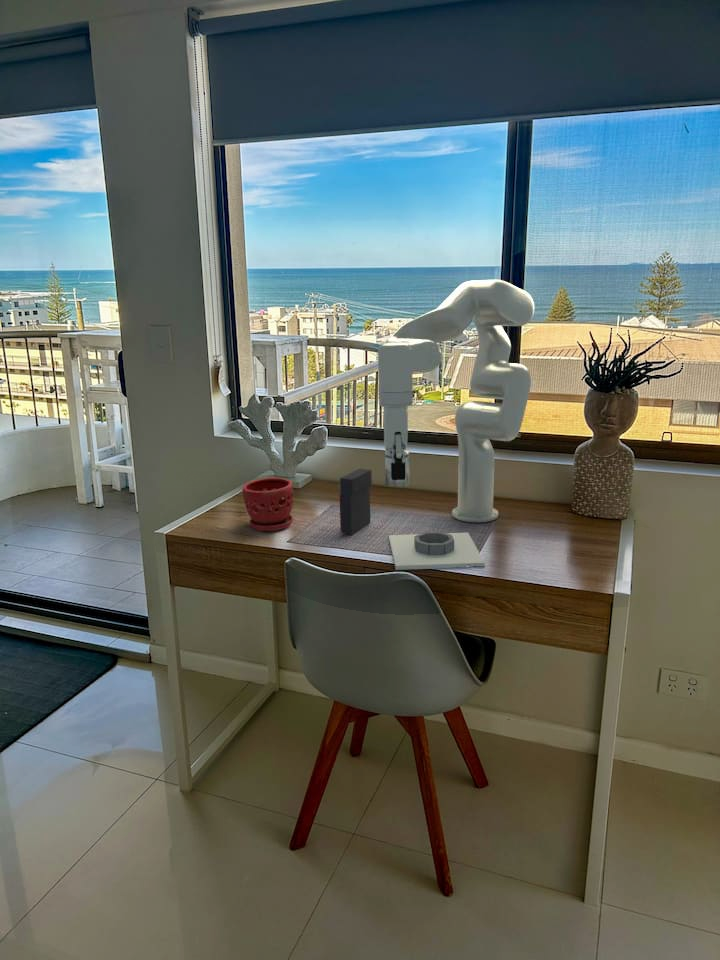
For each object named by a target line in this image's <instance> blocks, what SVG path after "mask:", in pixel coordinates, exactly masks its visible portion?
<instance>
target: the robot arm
mask: <svg viewBox="0 0 720 960" xmlns="http://www.w3.org/2000/svg"><path fill="white" fill-rule="evenodd" d="M534 313H535V302H534V300H533V297H532V296H531V295H530V293H529V292H527V291H526V290H524V289H522V288H519V287H517V286H515V285H513V284H512V283H510V282H507V281H505V280H502V279H481V280H477V279H476V280H469V281H468V280H467V281H465V282H463V283H461V284H460V285H459V286H457V288H455V289H454V290H453V291H452V293H451V294H449V296H447V298H446V299H444V300H443V302H442V303H440V305H439V306H437V307H436V308H435V309H433V310H430V311H429V312H426V313H423V314H422V315H420V316H418V317H416V318H413V319H412V320H409V321H407V322H405V324H403V325H400V327H399V328H397V329H396V330H395V331H394V332H393V333H392V334H391V335H390V336H389V337H388V338H387V339H386V341H385V343H384V342H383V343H381V344H380V345H379V346H378V349H377V361H378V363H377V364H378V366H377V368H378V370H377V371H378V395H379V397H378V398H379V399H378V400H379V407H381V408H382V407H383V440H384V441H383V442H384V443H383V445H384V449H385V450H387V451H389V449H392V463H391V479H392V480H405V479H406V474H405V462H404V450H406V449H408V436H409V435H408V434H409V430H408V429H409V424H408V422H409V421H408V420H409V417H408V415H409V413H408V412H409V410H408V407H411V406H413V405H414V398H413V397H414V393H413V391H414V390H413V374H414V373H422V374H425V373H429V372H433V371H435V370H436V369H437V368H438V367H439V366H440V364H441V362H442V358H443V351H442V349H441V346H440V345H439V344H438V343H443V342H447V341H450V340H453V339H456V338H458V337H459V336H461V335H462V333H463V332H464V331H465V330H466V329H467V328H468V327H469V326H470V325H471V324H472V323H473V324H474V326H475V329H476V332H477V335H478V349H477V353H476V356H475V359H474V360H475V361H474V365H473V369H472V372H471V377H470V383H469V385H470V386H469V387H470V391H471V393H472V394H473V395H475V396H476V397H479V398H484V399H495V400H502V402H501V403H500V402H490V401H480V400H469V401H466V402H463V403H462V404H460V405H459V406H458V408H457V410H456V412H455V415H454V416H455V417H454V419H455V421H454V422H455V428H456V434H457V444H458V460H457V461H458V465H457V466H458V472H457V474H458V476H457V483H458V484H457V506H456V507H454V508H453V509H452V511H451V516H452V517H453V518H454V519H456V520H459V521H461V522H467V523H488V522H492V521H494V520H496V519H498V517H499V511H498V510H497V509H496V508H494V484H495V483H494V480H495V478H494V477H495V450H494V448H493V445H492V442H491V441H490V440H493V441H502V442H511V441H513V440H515V438H517V436H518V435H519V433H520V430H521V427H522V424H523V422H524V421H523V420H524V416H525V411H526V408H527V404H528V400H529V397H530V396H529V395H530V391H531V386H532V383H531V382H532V381H531V380H532V379H531V378H532V377H531V374H530V370H529V369H528V367H526V366H525V365H523V364H520V363H516V362H515V363H513V362H512V363H511V362H509V361H510V360H509V359H510V355H511V350H512V344H511V340H510V338H509V336H508V335H507V332H505V330H504V327H522V326H525V325H527V324H528V323H529V322H530V321H531V320H532V318H533V317H534ZM394 447H396V449H393V448H394ZM401 447H402V449H401ZM394 452H396V453H395V455H394ZM394 457H395V458H394Z"/></svg>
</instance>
